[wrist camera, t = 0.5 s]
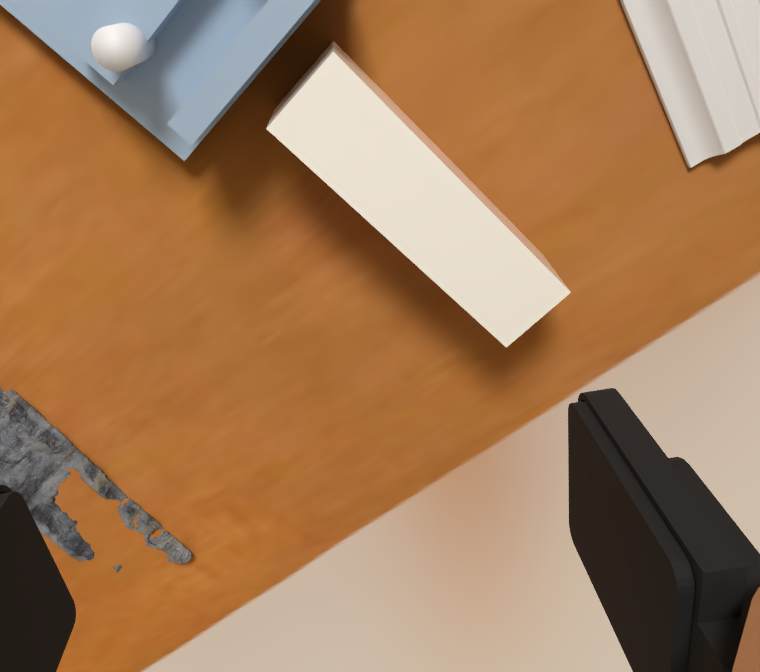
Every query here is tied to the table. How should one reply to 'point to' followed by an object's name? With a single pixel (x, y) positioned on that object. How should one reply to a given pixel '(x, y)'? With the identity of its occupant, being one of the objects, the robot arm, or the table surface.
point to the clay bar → (415, 195)
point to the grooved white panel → (702, 69)
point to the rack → (166, 53)
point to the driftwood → (48, 469)
